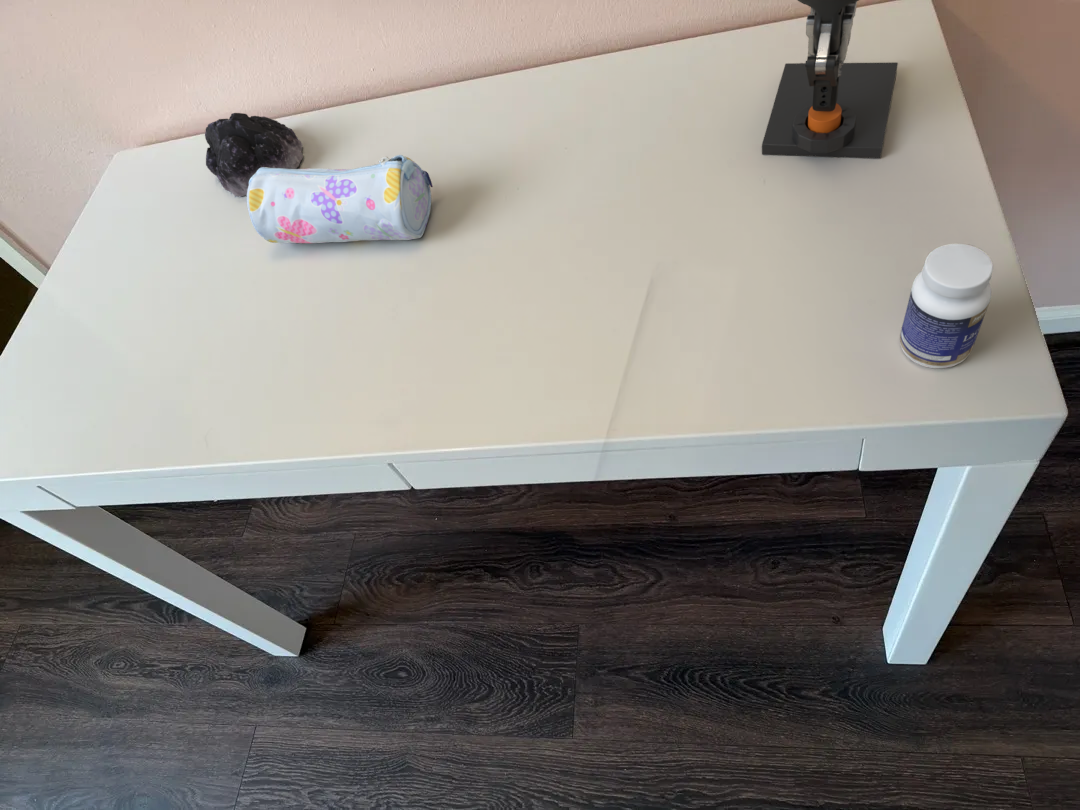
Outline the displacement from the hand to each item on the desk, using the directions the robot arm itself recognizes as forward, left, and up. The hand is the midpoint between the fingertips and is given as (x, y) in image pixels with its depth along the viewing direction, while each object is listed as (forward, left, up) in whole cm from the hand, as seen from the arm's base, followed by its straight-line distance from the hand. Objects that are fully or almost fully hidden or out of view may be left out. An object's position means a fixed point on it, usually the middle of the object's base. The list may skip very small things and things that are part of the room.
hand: (824, 106), depth 79 cm
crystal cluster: (+72, +8, -5) cm, 73 cm away
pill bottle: (-13, +25, -5) cm, 29 cm away
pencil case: (+51, +18, -5) cm, 54 cm away
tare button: (0, 0, -2) cm, 2 cm away
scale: (0, -5, -5) cm, 7 cm away
